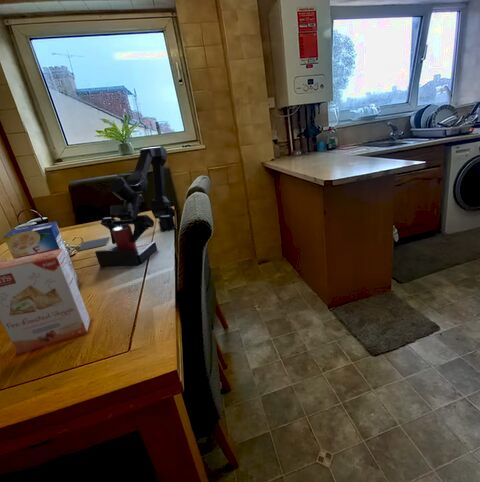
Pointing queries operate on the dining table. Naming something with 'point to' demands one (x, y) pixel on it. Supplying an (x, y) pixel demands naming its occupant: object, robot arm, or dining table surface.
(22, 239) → the blue white cardboard box
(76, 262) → the dining table surface
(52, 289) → the cracker box
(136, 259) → the compartment
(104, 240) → the mat
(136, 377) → the dining table surface
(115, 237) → the can
